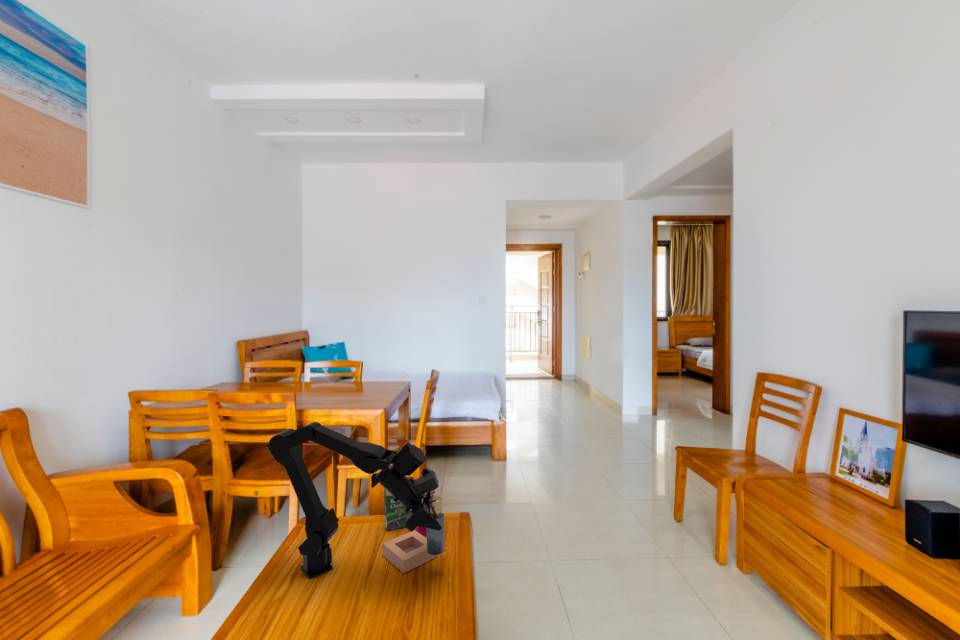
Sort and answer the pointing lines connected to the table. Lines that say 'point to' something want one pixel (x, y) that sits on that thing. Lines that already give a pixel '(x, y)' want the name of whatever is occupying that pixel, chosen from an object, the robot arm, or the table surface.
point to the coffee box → (394, 513)
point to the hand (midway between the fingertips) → (440, 524)
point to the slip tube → (434, 536)
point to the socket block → (407, 551)
